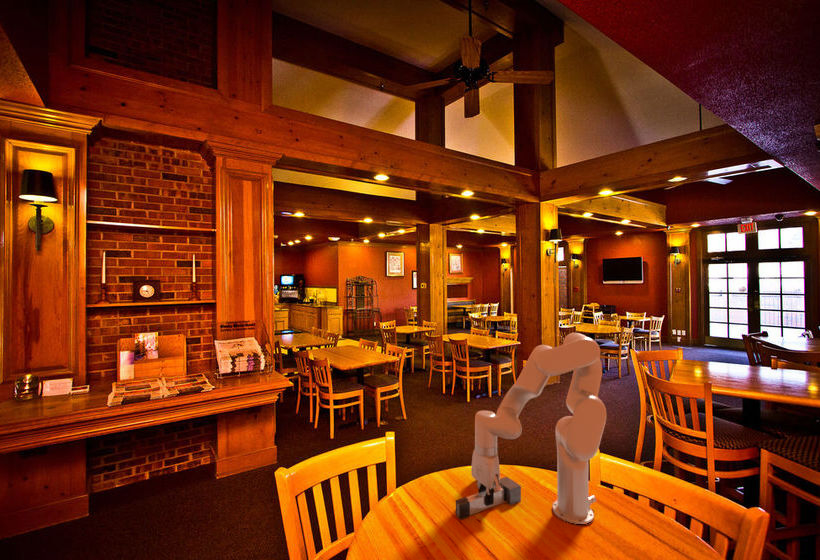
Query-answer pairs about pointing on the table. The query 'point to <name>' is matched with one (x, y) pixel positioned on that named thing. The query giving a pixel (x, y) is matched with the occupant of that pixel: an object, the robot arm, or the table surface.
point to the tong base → (510, 492)
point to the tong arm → (477, 504)
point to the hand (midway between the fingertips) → (485, 501)
